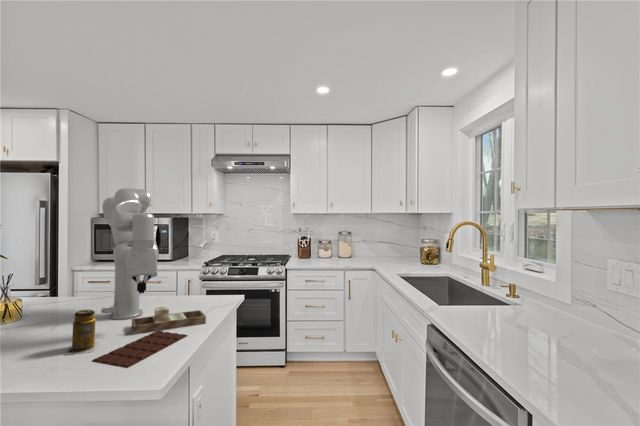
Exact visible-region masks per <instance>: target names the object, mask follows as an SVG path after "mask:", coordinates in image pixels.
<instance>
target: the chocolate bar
mask: <svg viewBox="0 0 640 426" xmlns="http://www.w3.org/2000/svg"><path fill="white" fill-rule="evenodd" d="M187 337H188V335H187V334H186V333H185V334H184V333H177V332H170V331H165V332H164V330H160V331H154V332H150V333H149V334H147V335H145V336H143V337H141V338H138V339H136V340H134V341H131V342H130V343H127V344H125V345H123V346H122V347H118V348H116V349H113V350H112V351H110V352H108V353H105V354H103V355H101V356H98V357H95V358H94V359H93V360H91V363H97V364H101V365H106V366H107V365H108V366H112V367H120V368H124V369H129V368H130V367H133V366H134V365H136V364H138V363H140V362H141V361H143V360H146V359H147V358H149V357H151V356H153V355H155V354H157V353H159V352H161V351H163V350H165V349H167V347H168V348H169V346H172V345H173V344H174V345H175V343H177V342H179V341H180V340H183V339H185V338H187Z"/></svg>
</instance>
